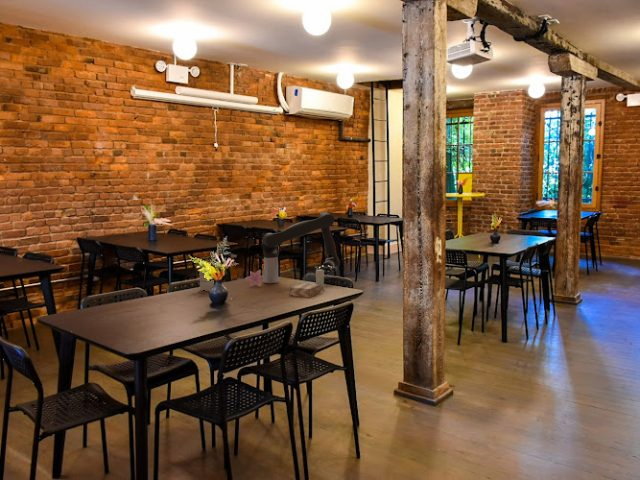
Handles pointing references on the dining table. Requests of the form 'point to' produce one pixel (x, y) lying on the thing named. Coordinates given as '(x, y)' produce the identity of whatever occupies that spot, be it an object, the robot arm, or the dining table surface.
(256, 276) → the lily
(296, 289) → the birch plinth
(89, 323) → the dining table surface
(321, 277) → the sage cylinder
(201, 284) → the supplement box
